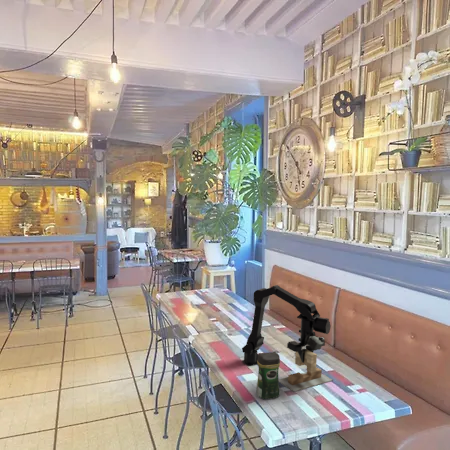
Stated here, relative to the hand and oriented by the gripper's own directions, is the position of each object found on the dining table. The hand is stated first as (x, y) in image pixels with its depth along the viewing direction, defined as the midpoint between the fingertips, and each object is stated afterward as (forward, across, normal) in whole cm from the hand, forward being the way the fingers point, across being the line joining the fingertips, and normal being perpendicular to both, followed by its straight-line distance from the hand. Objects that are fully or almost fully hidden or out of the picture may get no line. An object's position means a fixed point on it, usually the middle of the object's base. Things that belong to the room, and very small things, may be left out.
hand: (305, 361), depth 174 cm
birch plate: (+3, 0, 0) cm, 3 cm away
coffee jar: (+9, -24, -3) cm, 26 cm away
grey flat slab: (+9, 0, 0) cm, 9 cm away
